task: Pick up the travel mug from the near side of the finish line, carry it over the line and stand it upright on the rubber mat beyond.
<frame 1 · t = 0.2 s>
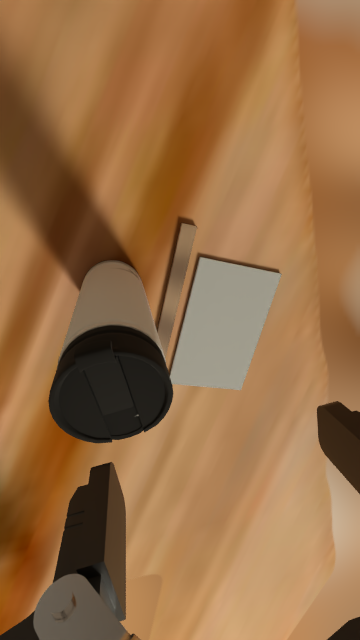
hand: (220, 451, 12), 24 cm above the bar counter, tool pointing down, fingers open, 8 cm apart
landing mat: (221, 329, 38), on the bar counter
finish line: (165, 321, 36), on the bar counter
travel mug: (112, 286, 33), on the bar counter
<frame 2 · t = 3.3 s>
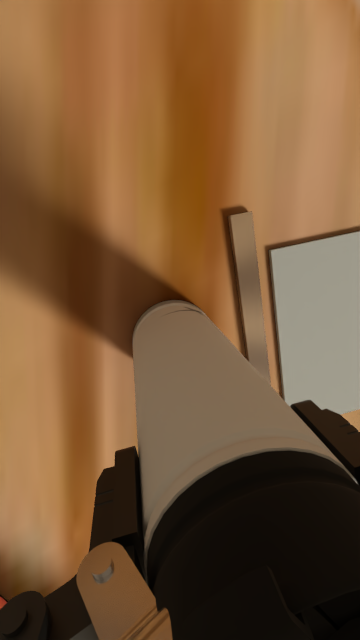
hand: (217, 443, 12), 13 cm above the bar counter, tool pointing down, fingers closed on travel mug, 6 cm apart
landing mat: (333, 332, 27), on the bar counter
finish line: (255, 352, 26), on the bar counter
travel mug: (171, 336, 24), on the bar counter, touching gripper
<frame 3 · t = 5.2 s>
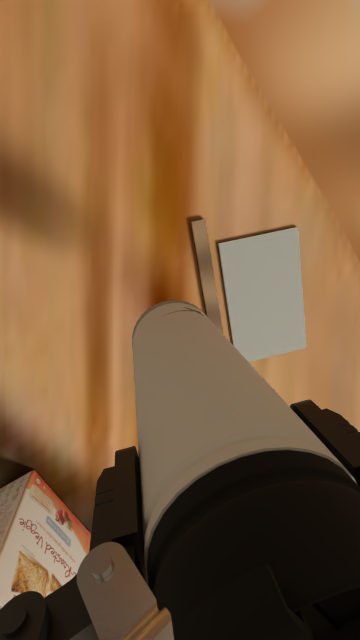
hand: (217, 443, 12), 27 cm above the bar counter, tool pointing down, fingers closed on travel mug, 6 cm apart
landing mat: (264, 298, 40), on the bar counter
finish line: (212, 310, 39), on the bar counter
cracker box: (48, 509, 44), on the bar counter
travel mug: (171, 336, 24), point 14 cm above the bar counter, touching gripper
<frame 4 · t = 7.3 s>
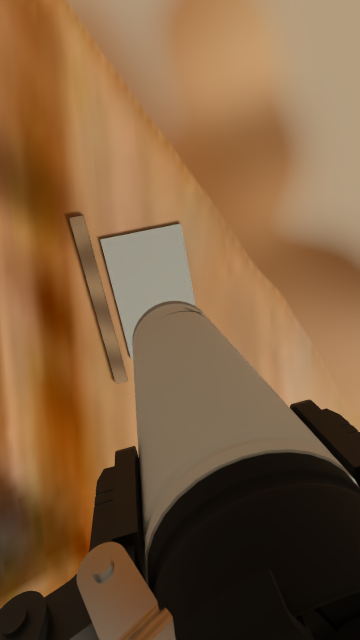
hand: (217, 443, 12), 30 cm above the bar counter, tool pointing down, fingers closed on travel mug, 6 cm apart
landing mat: (154, 293, 41), on the bar counter
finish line: (101, 305, 40), on the bar counter
travel mug: (171, 336, 24), point 17 cm above the bar counter, touching gripper
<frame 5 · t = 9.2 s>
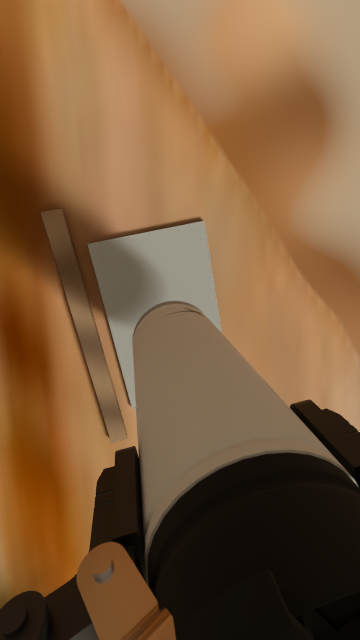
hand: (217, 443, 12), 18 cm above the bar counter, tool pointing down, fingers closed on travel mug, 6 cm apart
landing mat: (165, 320, 29), on the bar counter
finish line: (89, 337, 28), on the bar counter
travel mug: (171, 336, 24), point 5 cm above the bar counter, touching gripper
when the fingers open (14 cm above the bar counter, at t = 11.1 s): travel mug stays where it is, resting on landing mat.
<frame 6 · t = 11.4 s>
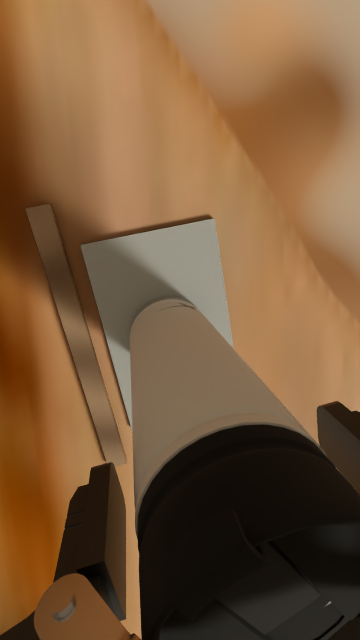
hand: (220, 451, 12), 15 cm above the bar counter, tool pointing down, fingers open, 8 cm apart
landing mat: (169, 331, 26), on the bar counter
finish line: (83, 351, 25), on the bar counter
travel mug: (167, 331, 25), resting on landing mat
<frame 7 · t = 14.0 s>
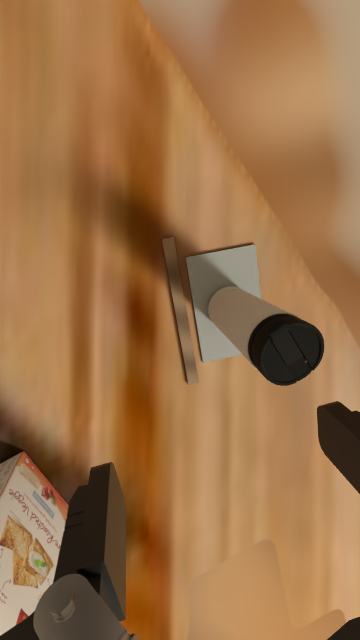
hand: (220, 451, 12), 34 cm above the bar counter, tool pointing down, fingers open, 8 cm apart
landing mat: (227, 305, 46), on the bar counter
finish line: (181, 315, 45), on the bar counter
cracker box: (36, 487, 49), on the bar counter
travel mug: (226, 305, 46), resting on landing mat
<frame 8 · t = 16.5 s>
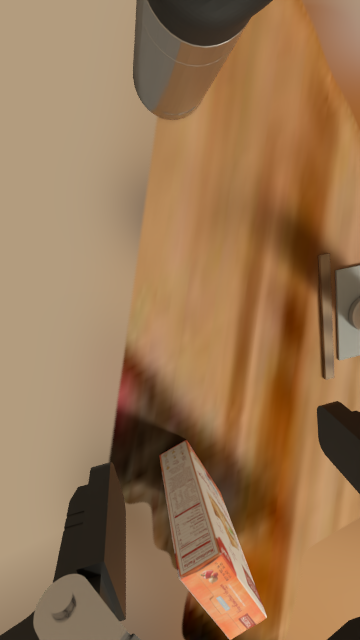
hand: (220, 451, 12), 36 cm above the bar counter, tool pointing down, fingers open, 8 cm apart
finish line: (325, 319, 52), on the bar counter
cracker box: (190, 471, 57), on the bar counter
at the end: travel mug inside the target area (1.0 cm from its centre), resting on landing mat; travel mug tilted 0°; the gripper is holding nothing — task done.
